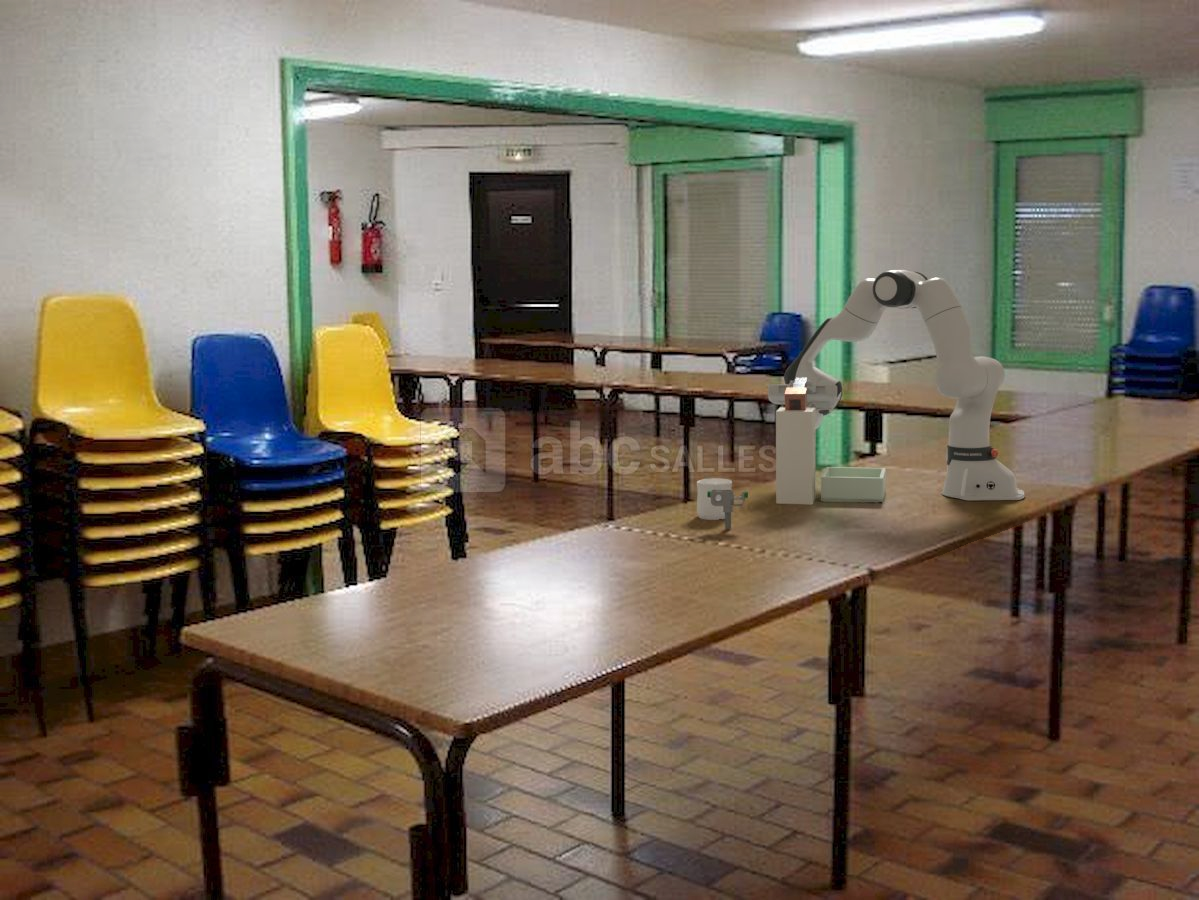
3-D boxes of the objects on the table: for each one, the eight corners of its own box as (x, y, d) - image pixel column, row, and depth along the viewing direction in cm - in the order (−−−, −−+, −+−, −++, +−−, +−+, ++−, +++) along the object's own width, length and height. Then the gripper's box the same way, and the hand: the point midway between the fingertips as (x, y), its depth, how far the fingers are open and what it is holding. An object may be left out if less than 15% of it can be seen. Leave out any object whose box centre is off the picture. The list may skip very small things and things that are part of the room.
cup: (731, 512, 359) (731, 477, 357) (733, 520, 349) (732, 484, 348) (696, 513, 360) (696, 477, 358) (697, 520, 350) (696, 484, 348)
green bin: (885, 491, 383) (885, 468, 382) (882, 503, 367) (882, 478, 366) (826, 490, 387) (826, 466, 386) (820, 501, 371) (821, 477, 370)
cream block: (815, 498, 376) (815, 407, 372) (812, 504, 367) (812, 411, 363) (780, 497, 378) (779, 407, 374) (776, 503, 370) (775, 411, 366)
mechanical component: (747, 530, 336) (747, 492, 334) (707, 529, 338) (707, 491, 336) (748, 528, 339) (748, 489, 337) (708, 527, 341) (708, 489, 339)
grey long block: (811, 387, 382) (811, 372, 381) (805, 410, 367) (804, 394, 365) (792, 387, 384) (791, 372, 382) (785, 409, 368) (784, 393, 366)
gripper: (770, 391, 396) (764, 372, 383) (839, 392, 391) (836, 373, 378) (768, 411, 394) (763, 392, 381) (838, 412, 389) (835, 393, 376)
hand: (800, 383), depth 380 cm, fingers closed on grey long block, 3 cm apart
